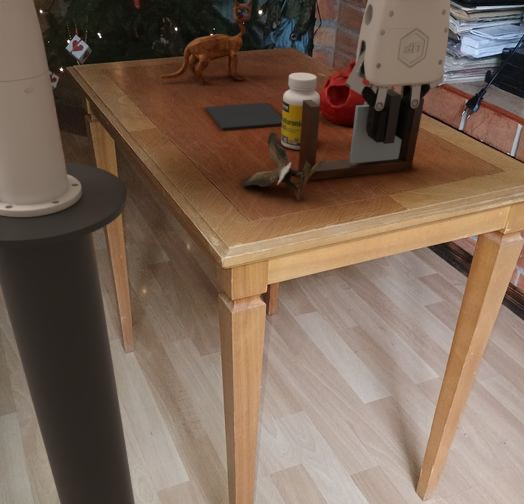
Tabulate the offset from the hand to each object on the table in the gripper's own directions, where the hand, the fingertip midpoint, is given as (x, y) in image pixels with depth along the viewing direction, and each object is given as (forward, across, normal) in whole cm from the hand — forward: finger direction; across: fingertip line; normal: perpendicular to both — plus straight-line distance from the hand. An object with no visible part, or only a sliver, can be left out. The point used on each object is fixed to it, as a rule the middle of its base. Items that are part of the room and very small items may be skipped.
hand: (387, 136), depth 80 cm
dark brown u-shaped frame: (+6, -2, +3) cm, 7 cm away
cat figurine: (+6, -11, +52) cm, 54 cm away
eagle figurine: (+6, -15, 0) cm, 16 cm away
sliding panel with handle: (+4, 0, +1) cm, 4 cm away
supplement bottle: (+6, -6, +15) cm, 17 cm away
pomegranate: (+6, +6, +24) cm, 25 cm away
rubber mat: (+6, -10, +29) cm, 31 cm away
